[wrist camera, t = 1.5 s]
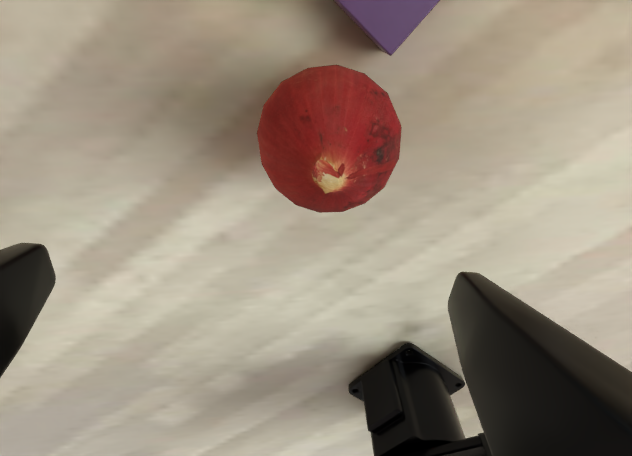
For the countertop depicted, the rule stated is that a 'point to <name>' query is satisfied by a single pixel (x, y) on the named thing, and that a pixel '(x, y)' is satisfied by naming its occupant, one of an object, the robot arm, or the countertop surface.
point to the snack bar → (387, 19)
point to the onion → (329, 138)
